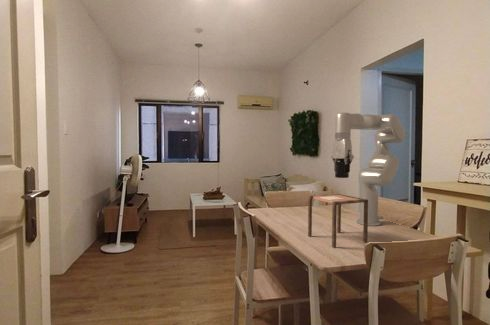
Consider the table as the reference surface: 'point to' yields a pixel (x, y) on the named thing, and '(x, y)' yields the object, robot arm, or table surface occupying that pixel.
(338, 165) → the supplement bottle
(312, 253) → the table surface
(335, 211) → the stand
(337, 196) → the trapdoor
